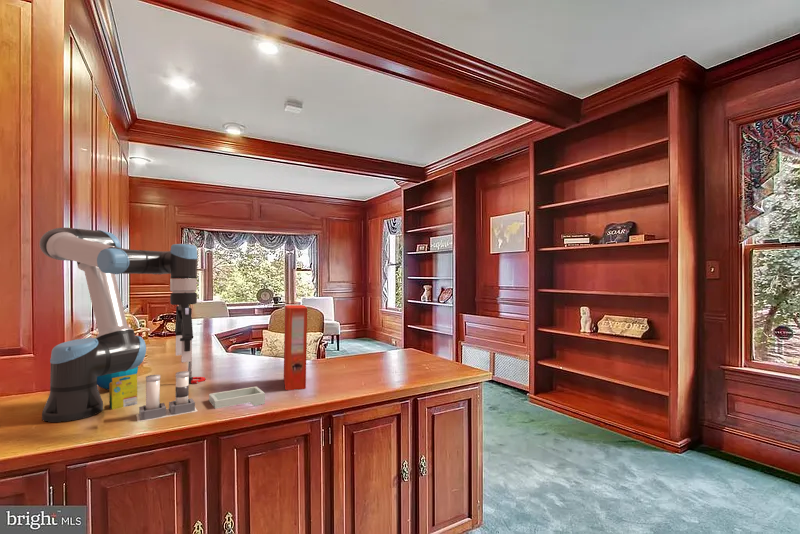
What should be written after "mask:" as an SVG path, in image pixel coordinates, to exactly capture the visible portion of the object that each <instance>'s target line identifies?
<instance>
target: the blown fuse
mask: <svg viewBox="0 0 800 534" xmlns="http://www.w3.org/2000/svg"><path fill="white" fill-rule="evenodd" d="M189 385H190V384H189V371H188V370H185V371H177V372H175V393H174V394H175V401H176V404H175V406H176V405H181V404H187V403H188V399H189V394H190V393H189V390H190V386H189Z"/></svg>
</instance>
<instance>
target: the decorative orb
mask: <svg viewBox="0 0 800 534" xmlns="http://www.w3.org/2000/svg"><path fill="white" fill-rule="evenodd" d="M138 370H139V366H138V367H136V368H134V369H130V370H127V371H121V372H116V373H112V374H107V375H102V376H98V377H97V387H99V388H101V389H103V390H104V389H105V390H109V383H111V382H112V378H116V377H121V376H127V375H133V374H137V375H138ZM126 379H130V377H127V378H126V377H124V378H122V379H119V380H120V381H121V380H126Z"/></svg>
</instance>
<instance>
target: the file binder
mask: <svg viewBox="0 0 800 534" xmlns="http://www.w3.org/2000/svg"><path fill="white" fill-rule="evenodd" d="M307 338H308V307H307V306H306V305H303V304H294V305H293V304H286V305H285V306H284V338H283V339H284V340H283V341H284V345H283V346H284V347H283V349H284V350H283V351H284V352H283V383H284V388H285V391H295V390H294V389H298V390H305V389H307V386H306V385H307V350H308V349H307V341H308V340H307Z"/></svg>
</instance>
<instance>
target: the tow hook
mask: <svg viewBox="0 0 800 534" xmlns="http://www.w3.org/2000/svg"><path fill="white" fill-rule="evenodd" d="M192 364H193V360H192V361H190V362H188V365H187V367H188V369H187V371H189V385H193V384H194V385H195V384H196V385H197V384H198V383H201V382H205V380H206V377H204V376H192V372H193V371H192V369H193V368H192V366H193V365H192Z"/></svg>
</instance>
